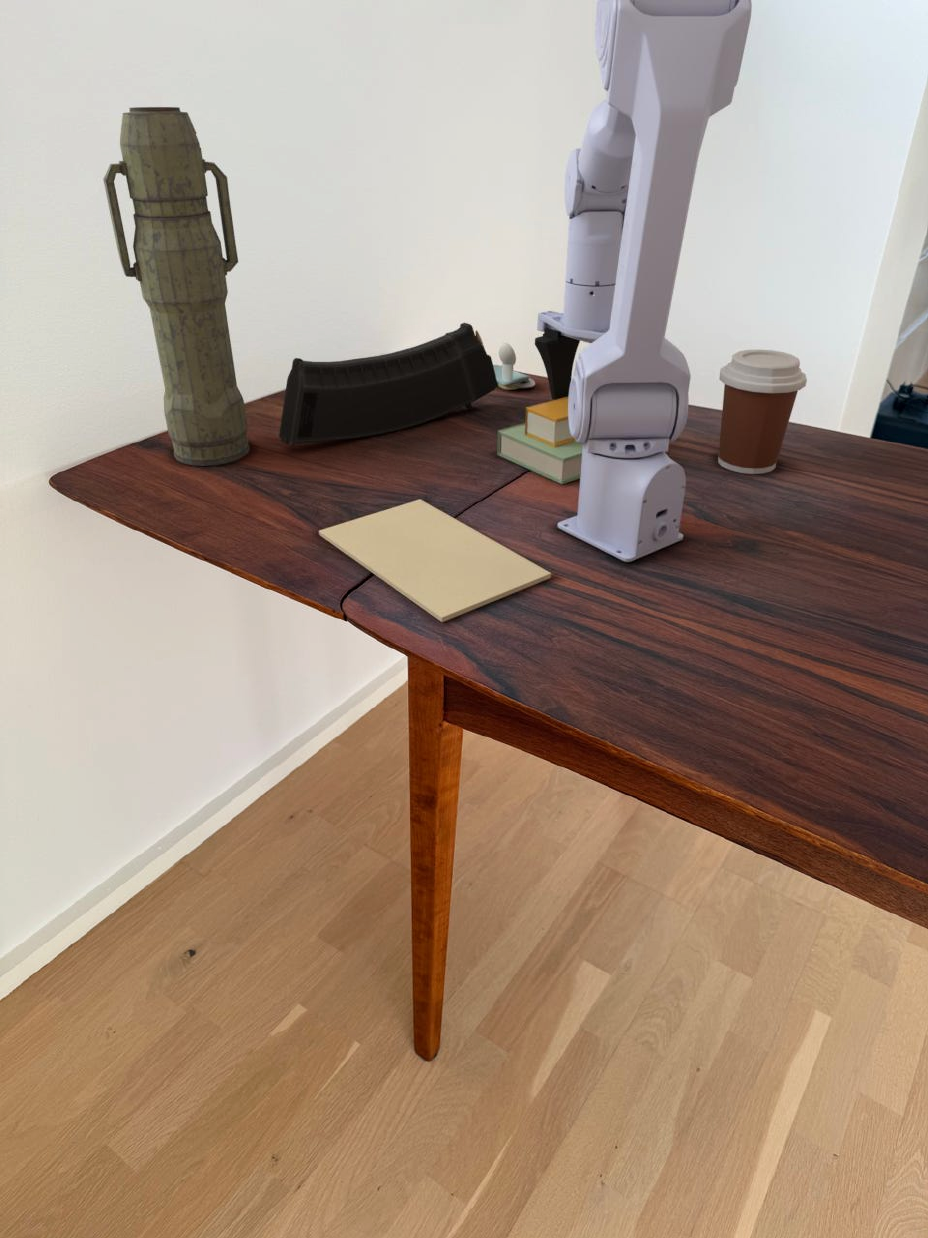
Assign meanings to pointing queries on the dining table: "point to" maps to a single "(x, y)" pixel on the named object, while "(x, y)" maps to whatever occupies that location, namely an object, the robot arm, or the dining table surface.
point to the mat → (434, 558)
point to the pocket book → (549, 422)
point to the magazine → (385, 389)
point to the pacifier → (510, 371)
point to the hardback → (540, 454)
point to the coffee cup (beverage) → (757, 408)
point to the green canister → (182, 279)
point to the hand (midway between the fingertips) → (582, 406)
